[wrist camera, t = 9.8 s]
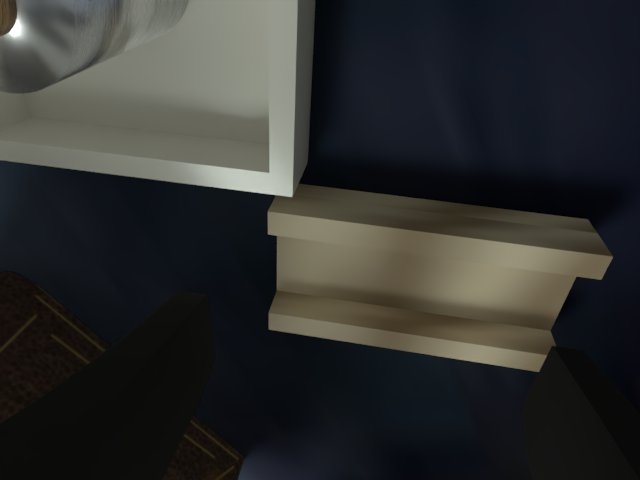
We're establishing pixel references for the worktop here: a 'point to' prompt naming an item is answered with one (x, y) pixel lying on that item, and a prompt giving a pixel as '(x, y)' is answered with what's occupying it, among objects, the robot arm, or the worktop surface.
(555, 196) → the worktop surface
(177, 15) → the cylinder
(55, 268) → the worktop surface
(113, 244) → the worktop surface
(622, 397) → the robot arm
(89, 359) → the book
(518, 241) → the trough
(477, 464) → the worktop surface
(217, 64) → the dish
